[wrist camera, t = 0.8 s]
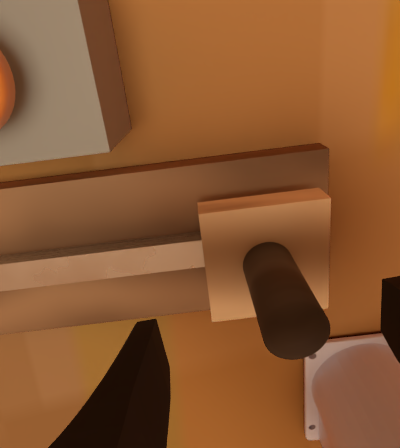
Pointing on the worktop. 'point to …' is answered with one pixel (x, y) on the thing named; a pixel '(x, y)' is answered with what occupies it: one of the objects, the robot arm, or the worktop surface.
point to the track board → (133, 229)
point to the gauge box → (61, 80)
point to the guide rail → (101, 261)
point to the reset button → (6, 91)
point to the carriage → (271, 266)
